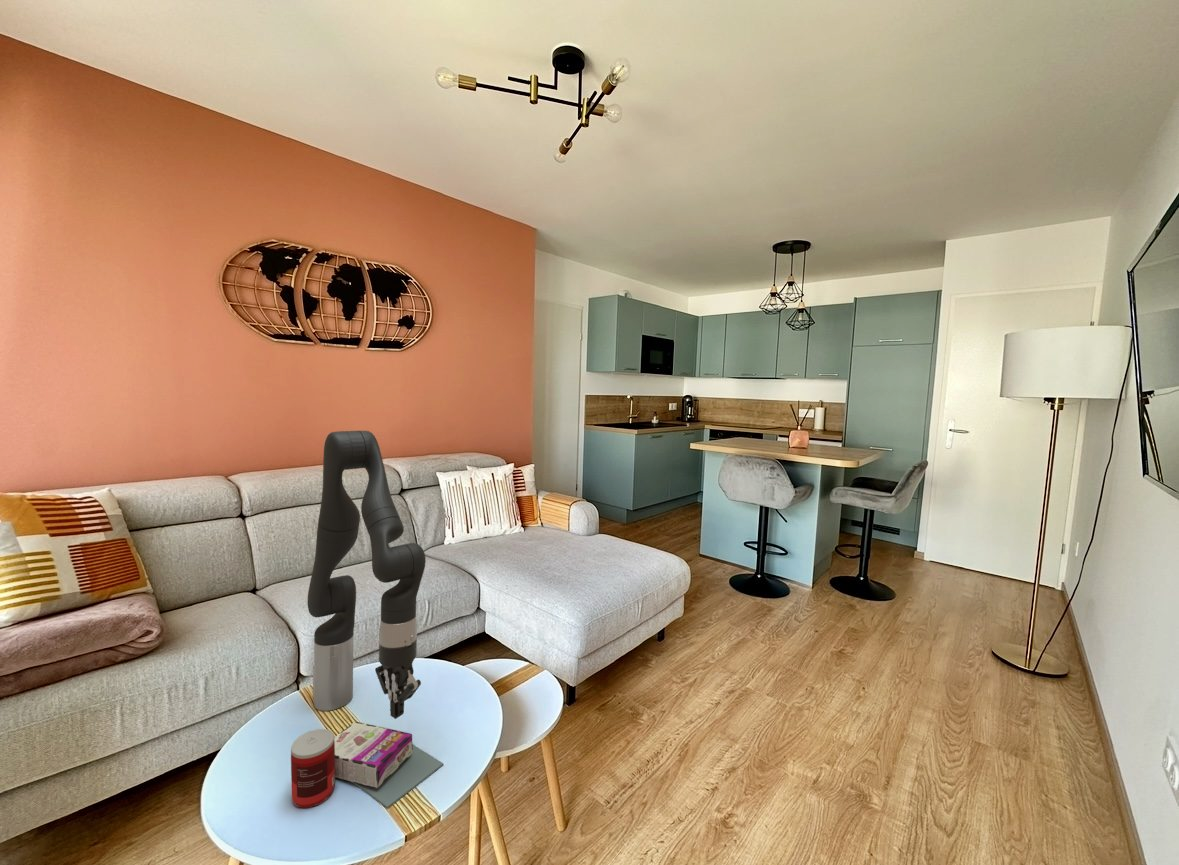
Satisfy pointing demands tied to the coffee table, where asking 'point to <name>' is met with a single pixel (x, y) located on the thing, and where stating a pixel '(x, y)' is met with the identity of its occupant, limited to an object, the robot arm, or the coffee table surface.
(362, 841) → the coffee table surface
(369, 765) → the candy bar box
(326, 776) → the canned food
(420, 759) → the mat
